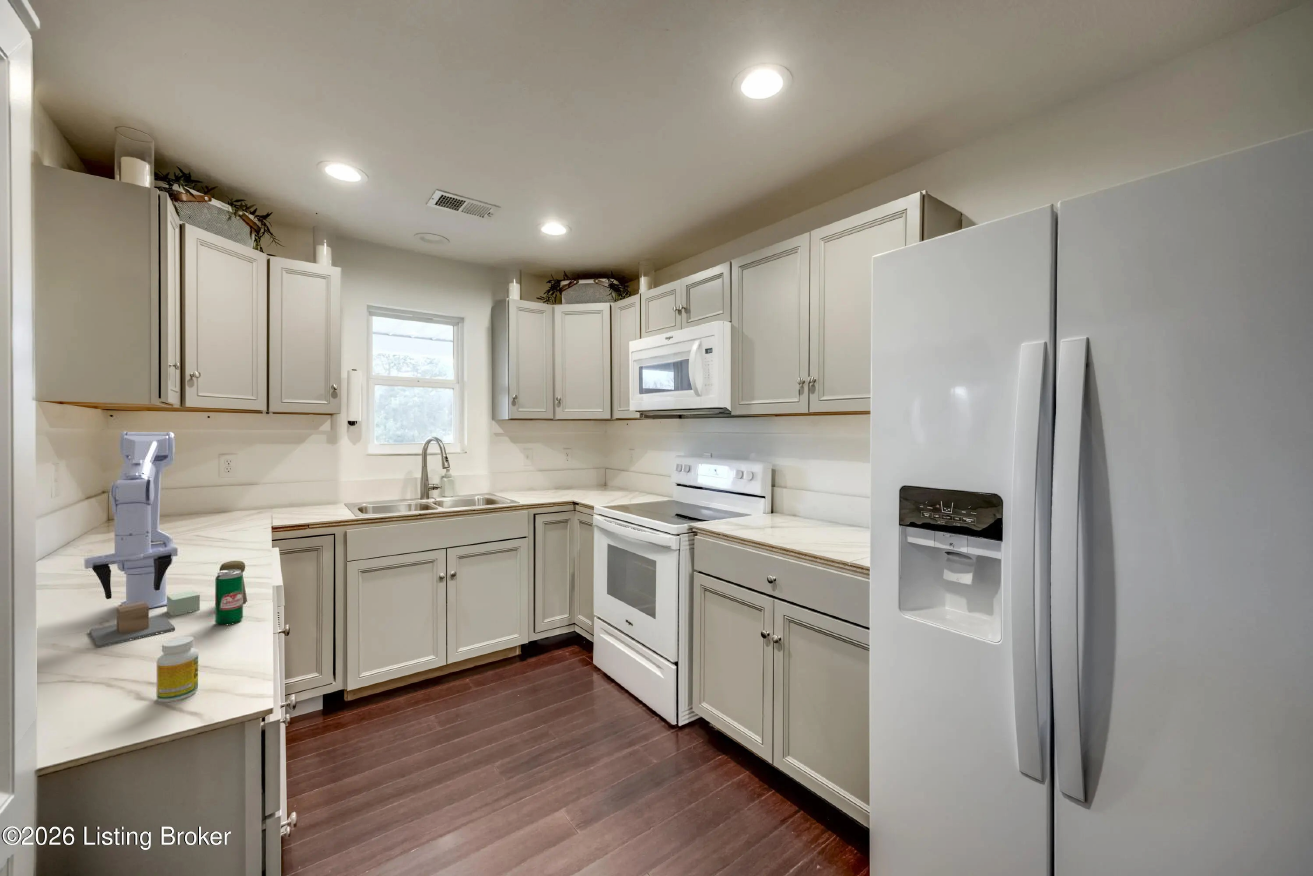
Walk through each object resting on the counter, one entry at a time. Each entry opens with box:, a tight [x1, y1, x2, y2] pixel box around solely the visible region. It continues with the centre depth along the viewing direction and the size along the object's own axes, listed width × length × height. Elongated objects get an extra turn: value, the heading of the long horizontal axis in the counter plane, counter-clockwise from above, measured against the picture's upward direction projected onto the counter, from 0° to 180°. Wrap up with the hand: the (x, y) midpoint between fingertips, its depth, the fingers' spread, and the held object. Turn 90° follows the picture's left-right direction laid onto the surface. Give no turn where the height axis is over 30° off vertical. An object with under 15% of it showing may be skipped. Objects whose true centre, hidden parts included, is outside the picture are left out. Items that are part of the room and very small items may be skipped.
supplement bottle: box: [155, 636, 199, 703], centre depth 91 cm, size 5×5×10 cm
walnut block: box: [116, 602, 150, 634], centre depth 116 cm, size 4×4×5 cm
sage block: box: [166, 590, 201, 616], centre depth 129 cm, size 5×5×4 cm
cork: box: [218, 560, 248, 605], centre depth 134 cm, size 6×6×11 cm
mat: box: [89, 614, 176, 648], centre depth 116 cm, size 12×12×1 cm
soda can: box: [214, 569, 244, 626], centre depth 123 cm, size 5×5×12 cm
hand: (133, 593), depth 116 cm, fingers open, 7 cm apart
